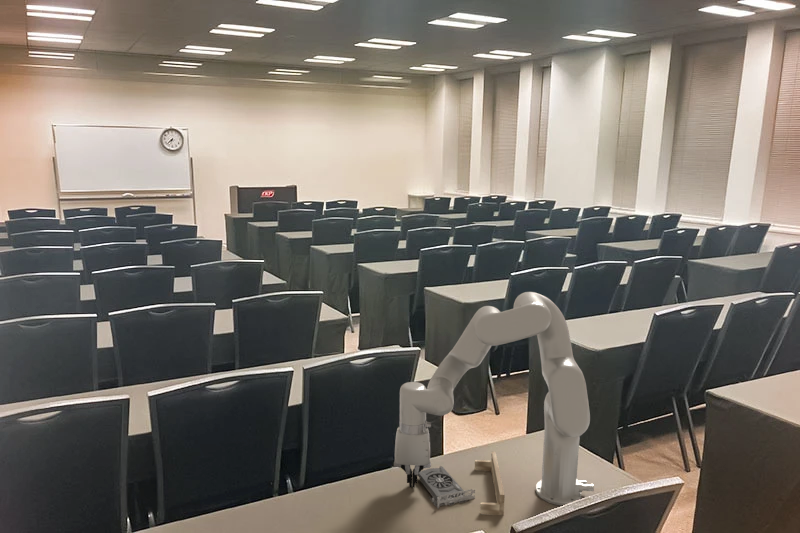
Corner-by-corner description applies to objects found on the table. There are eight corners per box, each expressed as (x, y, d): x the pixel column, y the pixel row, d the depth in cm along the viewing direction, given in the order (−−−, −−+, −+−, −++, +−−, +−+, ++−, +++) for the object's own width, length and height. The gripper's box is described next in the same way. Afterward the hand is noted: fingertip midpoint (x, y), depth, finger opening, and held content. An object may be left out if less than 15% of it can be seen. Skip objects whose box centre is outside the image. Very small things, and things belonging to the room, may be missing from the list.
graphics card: (477, 490, 158) (437, 498, 153) (476, 502, 158) (437, 511, 154) (450, 461, 173) (414, 468, 169) (449, 473, 174) (413, 479, 169)
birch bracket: (494, 469, 174) (495, 451, 173) (503, 515, 152) (504, 494, 150) (474, 468, 174) (475, 450, 173) (480, 514, 152) (481, 493, 151)
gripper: (438, 421, 164) (437, 479, 167) (387, 419, 165) (387, 477, 168) (439, 433, 157) (437, 493, 160) (385, 431, 158) (385, 491, 161)
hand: (412, 484), depth 164 cm, fingers closed
